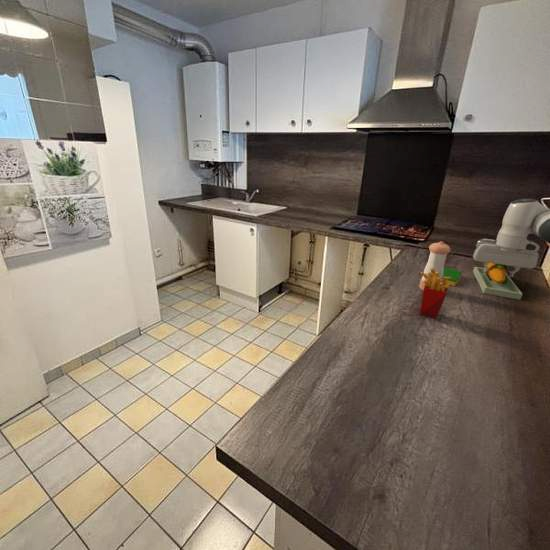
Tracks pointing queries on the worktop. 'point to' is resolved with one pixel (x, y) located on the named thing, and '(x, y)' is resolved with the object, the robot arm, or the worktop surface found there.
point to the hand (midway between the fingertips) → (497, 274)
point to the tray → (496, 285)
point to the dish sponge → (454, 276)
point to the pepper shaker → (435, 260)
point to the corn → (497, 273)
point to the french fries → (433, 294)
